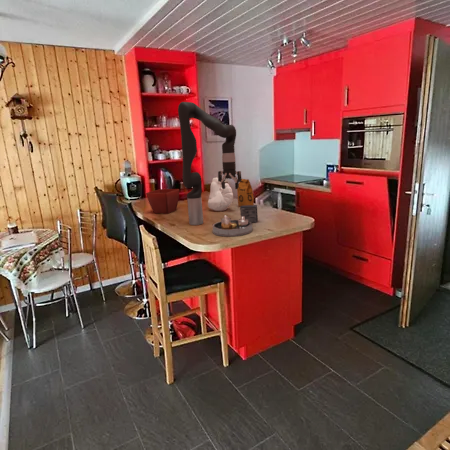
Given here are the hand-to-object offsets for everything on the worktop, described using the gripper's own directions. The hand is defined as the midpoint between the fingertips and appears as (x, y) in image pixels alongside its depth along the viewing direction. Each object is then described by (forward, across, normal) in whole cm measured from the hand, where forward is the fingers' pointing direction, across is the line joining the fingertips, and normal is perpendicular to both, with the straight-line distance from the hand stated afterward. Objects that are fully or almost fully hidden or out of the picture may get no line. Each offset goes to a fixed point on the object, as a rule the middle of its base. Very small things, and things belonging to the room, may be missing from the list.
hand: (230, 188), depth 200 cm
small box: (+24, -4, -17) cm, 30 cm away
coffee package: (+25, +19, -61) cm, 68 cm away
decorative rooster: (+25, +32, -44) cm, 60 cm away
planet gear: (+23, -4, +13) cm, 26 cm away
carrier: (+24, -4, +6) cm, 25 cm away
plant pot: (+26, +75, -30) cm, 85 cm away
